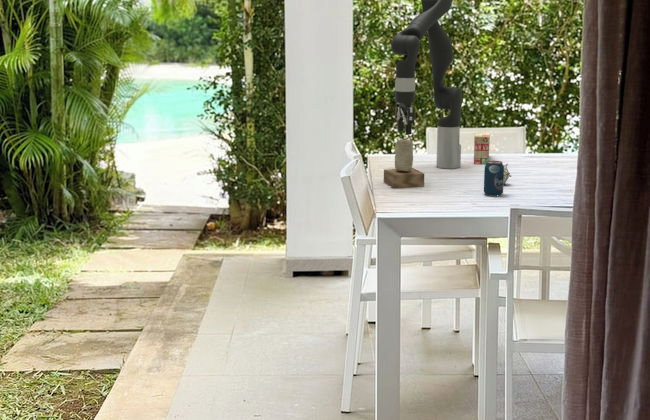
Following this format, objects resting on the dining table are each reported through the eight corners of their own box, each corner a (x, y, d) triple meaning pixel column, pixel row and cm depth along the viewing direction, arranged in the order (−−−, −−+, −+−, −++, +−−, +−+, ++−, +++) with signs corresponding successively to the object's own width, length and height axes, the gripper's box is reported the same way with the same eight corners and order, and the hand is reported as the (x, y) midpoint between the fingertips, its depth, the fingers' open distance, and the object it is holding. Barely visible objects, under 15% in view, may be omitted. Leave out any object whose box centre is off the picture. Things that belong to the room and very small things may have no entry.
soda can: (498, 197, 345) (499, 164, 342) (480, 195, 348) (481, 162, 346) (505, 193, 350) (507, 161, 348) (488, 191, 354) (489, 159, 351)
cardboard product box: (473, 156, 429) (474, 128, 426) (488, 156, 428) (489, 128, 425) (473, 164, 408) (474, 135, 406) (488, 165, 407) (489, 136, 405)
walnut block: (412, 180, 375) (413, 167, 373) (424, 186, 363) (424, 173, 362) (383, 182, 371) (383, 169, 370) (394, 188, 360) (394, 175, 359)
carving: (416, 171, 367) (417, 139, 364) (403, 173, 362) (404, 142, 359) (403, 168, 371) (404, 138, 369) (390, 171, 366) (391, 140, 363)
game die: (502, 193, 369) (518, 172, 368) (499, 189, 361) (515, 168, 360) (483, 180, 372) (499, 159, 371) (480, 176, 364) (496, 154, 363)
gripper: (421, 91, 353) (420, 135, 357) (407, 87, 367) (407, 129, 370) (402, 92, 351) (401, 136, 355) (389, 87, 365) (388, 130, 369)
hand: (404, 132), depth 363 cm, fingers open, 8 cm apart
